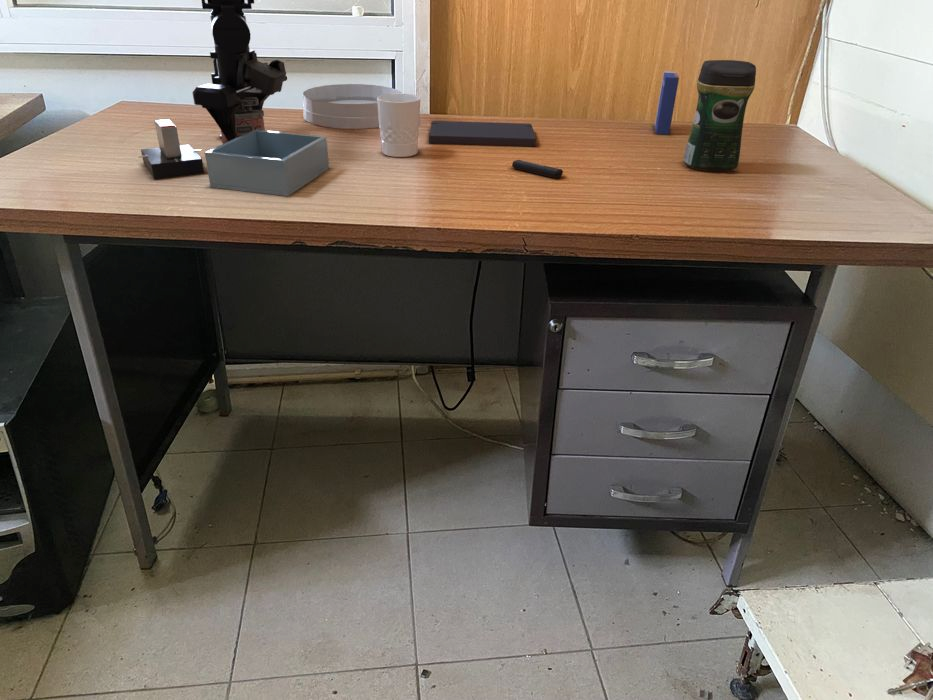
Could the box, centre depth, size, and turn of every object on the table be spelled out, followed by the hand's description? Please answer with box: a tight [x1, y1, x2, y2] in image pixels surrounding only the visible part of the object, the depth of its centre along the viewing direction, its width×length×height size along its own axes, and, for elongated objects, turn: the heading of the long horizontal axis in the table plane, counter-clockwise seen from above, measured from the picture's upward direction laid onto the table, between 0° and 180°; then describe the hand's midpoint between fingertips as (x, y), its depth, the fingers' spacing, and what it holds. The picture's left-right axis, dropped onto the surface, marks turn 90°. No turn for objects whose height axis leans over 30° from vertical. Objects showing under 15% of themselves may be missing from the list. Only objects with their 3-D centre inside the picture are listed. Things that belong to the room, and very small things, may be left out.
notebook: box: [428, 120, 537, 147], centre depth 144 cm, size 13×2×21 cm
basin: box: [204, 129, 330, 197], centre depth 116 cm, size 16×14×6 cm
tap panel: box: [138, 143, 205, 180], centre depth 119 cm, size 10×10×3 cm
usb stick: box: [511, 159, 564, 179], centre depth 124 cm, size 10×3×2 cm, turn 54°
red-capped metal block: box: [154, 118, 182, 159], centre depth 117 cm, size 6×2×5 cm, turn 31°
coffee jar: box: [683, 59, 757, 172], centre depth 126 cm, size 10×8×19 cm
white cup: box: [377, 92, 421, 158], centre depth 130 cm, size 8×8×10 cm
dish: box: [302, 83, 403, 130], centre depth 155 cm, size 22×22×5 cm
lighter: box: [220, 97, 266, 144], centre depth 126 cm, size 8×3×10 cm, turn 117°
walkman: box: [654, 70, 680, 136], centre depth 151 cm, size 8×3×12 cm, turn 169°
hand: (243, 137), depth 127 cm, fingers open, 8 cm apart
